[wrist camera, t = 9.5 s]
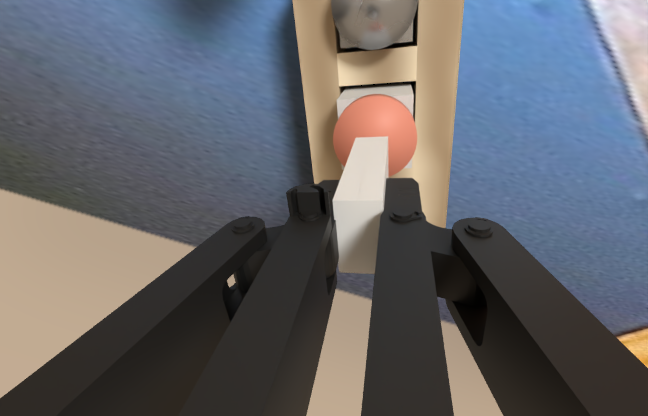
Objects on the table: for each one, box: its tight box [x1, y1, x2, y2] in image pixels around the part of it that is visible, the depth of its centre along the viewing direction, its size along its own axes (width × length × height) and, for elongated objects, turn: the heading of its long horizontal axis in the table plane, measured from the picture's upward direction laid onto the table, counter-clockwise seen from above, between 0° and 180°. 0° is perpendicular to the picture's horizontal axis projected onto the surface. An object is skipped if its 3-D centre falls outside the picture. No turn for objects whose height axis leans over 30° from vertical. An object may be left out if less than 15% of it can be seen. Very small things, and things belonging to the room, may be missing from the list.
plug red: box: [333, 83, 417, 177], centre depth 22 cm, size 5×5×6 cm
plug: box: [331, 0, 418, 50], centre depth 21 cm, size 5×5×6 cm
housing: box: [293, 0, 464, 228], centre depth 25 cm, size 10×20×5 cm, turn 6°
